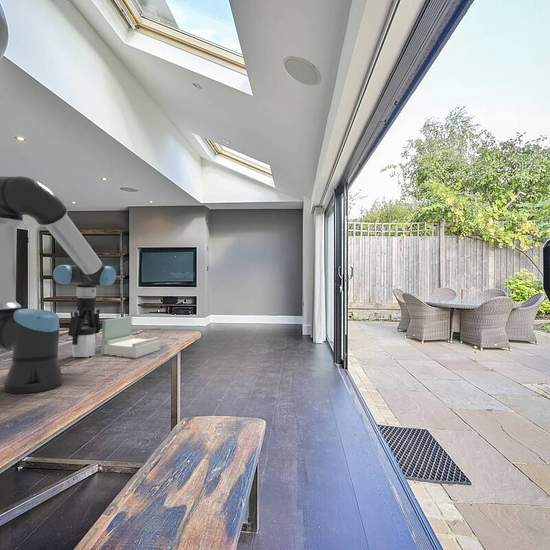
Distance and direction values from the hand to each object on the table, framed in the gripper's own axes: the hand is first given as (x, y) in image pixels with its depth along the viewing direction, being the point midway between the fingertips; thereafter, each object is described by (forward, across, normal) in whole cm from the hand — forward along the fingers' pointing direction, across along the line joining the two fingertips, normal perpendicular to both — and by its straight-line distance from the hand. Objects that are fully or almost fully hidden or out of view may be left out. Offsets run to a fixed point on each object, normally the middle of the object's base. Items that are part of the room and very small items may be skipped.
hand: (84, 350), depth 149 cm
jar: (+3, 0, 0) cm, 3 cm away
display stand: (+2, +14, -14) cm, 20 cm away
